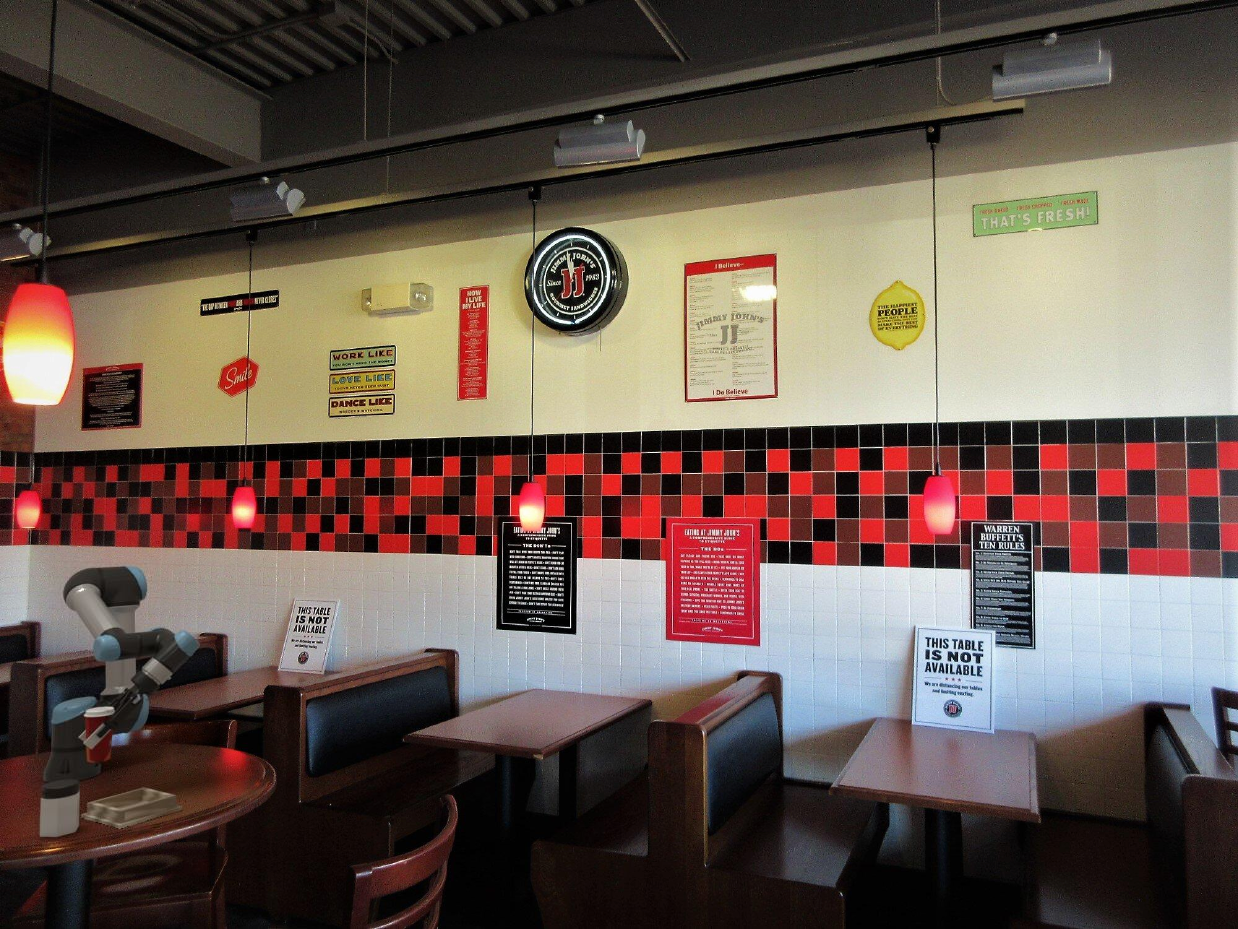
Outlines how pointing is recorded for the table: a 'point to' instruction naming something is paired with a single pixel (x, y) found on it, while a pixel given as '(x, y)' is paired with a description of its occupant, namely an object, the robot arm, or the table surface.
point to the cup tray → (131, 807)
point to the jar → (59, 808)
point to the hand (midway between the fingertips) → (84, 743)
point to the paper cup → (93, 722)
